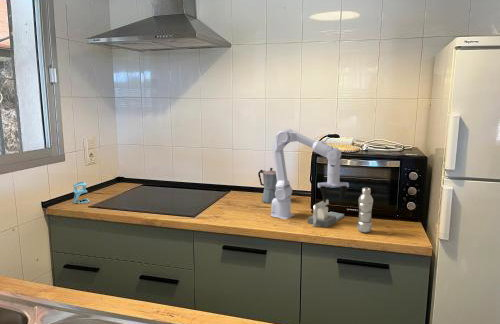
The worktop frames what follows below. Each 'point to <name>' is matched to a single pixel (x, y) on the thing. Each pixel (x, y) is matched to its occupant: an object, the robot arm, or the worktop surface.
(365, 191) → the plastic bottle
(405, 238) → the worktop surface
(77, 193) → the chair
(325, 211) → the plug
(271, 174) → the moka pot
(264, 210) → the worktop surface
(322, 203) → the grey piece
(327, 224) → the socket block
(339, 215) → the tile
